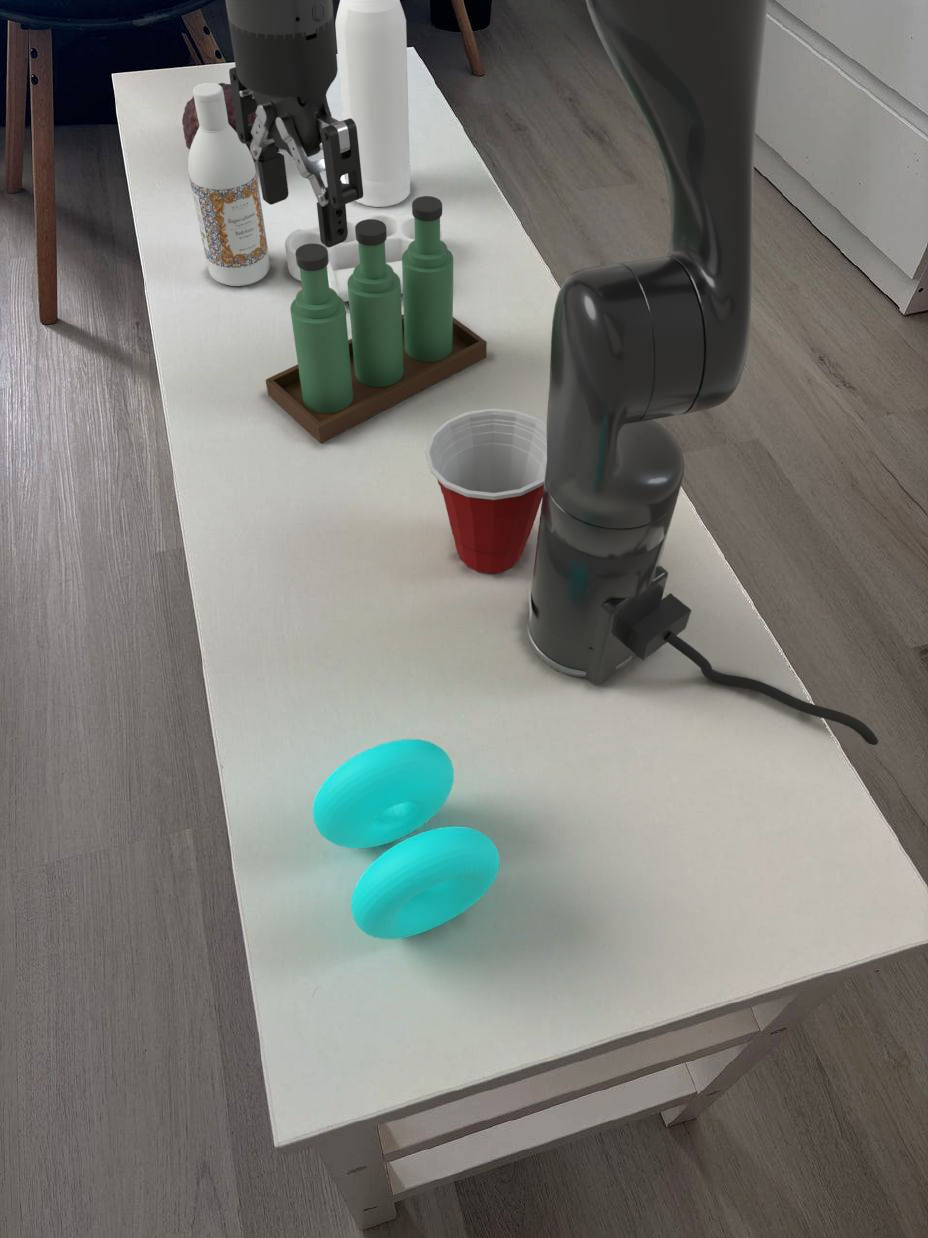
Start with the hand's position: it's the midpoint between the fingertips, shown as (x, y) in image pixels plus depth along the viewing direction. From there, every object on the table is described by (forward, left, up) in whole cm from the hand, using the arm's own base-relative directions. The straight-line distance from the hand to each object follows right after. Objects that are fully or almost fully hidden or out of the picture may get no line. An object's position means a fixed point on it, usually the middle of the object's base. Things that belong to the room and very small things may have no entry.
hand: (304, 221), depth 83 cm
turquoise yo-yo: (-44, +24, -20) cm, 54 cm away
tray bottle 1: (0, -7, -19) cm, 20 cm away
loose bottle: (0, 0, -19) cm, 19 cm away
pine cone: (+48, -18, -20) cm, 55 cm away
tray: (0, -7, -20) cm, 21 cm away
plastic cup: (-25, 0, -20) cm, 32 cm away
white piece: (+16, -18, -20) cm, 31 cm away
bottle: (+29, -29, -20) cm, 45 cm away
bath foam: (+25, -6, -20) cm, 32 cm away
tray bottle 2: (0, -13, -19) cm, 23 cm away
